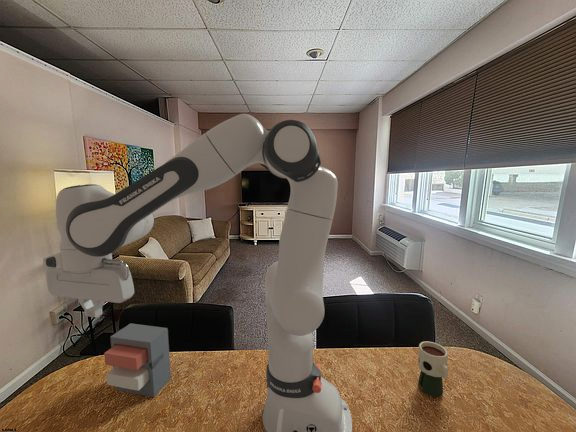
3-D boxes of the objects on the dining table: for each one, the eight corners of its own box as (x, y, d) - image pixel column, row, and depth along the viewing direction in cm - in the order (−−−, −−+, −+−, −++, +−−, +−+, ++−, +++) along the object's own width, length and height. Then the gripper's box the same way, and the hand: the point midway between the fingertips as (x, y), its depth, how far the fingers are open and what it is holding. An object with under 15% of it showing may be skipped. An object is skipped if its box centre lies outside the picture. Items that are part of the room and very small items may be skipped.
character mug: (407, 377, 77) (409, 338, 75) (427, 374, 78) (430, 336, 76) (432, 408, 66) (435, 363, 65) (456, 405, 67) (460, 360, 66)
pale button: (138, 390, 66) (137, 379, 66) (107, 384, 68) (106, 373, 68) (149, 379, 70) (149, 368, 70) (119, 374, 72) (118, 363, 72)
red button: (136, 370, 65) (135, 358, 65) (105, 364, 67) (104, 353, 67) (148, 359, 69) (147, 348, 69) (118, 354, 71) (117, 343, 71)
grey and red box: (154, 397, 70) (150, 342, 68) (115, 389, 72) (110, 336, 70) (170, 378, 77) (167, 328, 75) (134, 371, 79) (130, 323, 77)
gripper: (138, 256, 57) (143, 313, 59) (66, 251, 61) (73, 305, 63) (114, 264, 51) (120, 328, 52) (36, 259, 55) (44, 318, 57)
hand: (94, 315), depth 58 cm, fingers closed
